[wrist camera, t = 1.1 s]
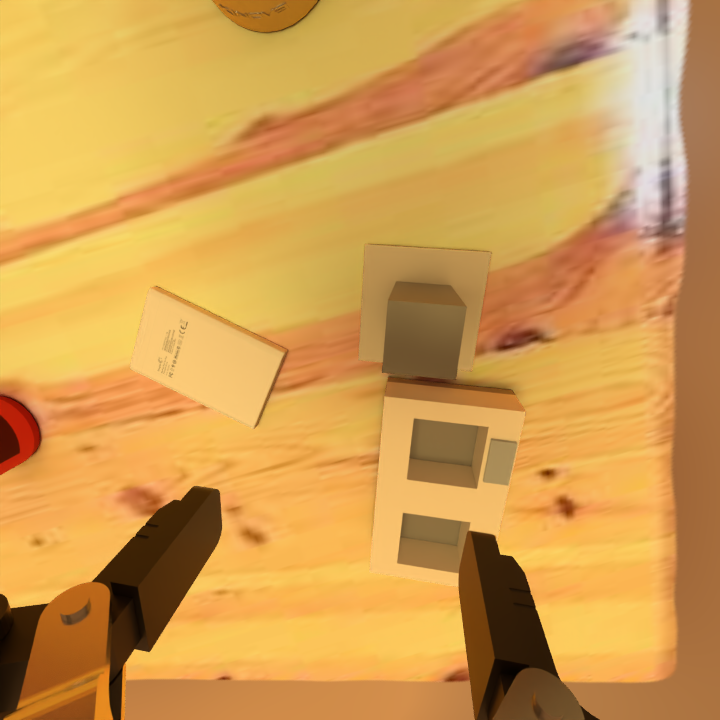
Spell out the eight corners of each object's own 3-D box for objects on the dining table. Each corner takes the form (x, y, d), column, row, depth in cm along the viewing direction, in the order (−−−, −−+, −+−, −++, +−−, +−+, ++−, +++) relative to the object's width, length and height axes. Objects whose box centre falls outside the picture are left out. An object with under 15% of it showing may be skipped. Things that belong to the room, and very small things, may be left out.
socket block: (388, 377, 31) (384, 398, 27) (511, 390, 30) (527, 413, 26) (374, 537, 36) (369, 575, 32) (478, 553, 35) (486, 594, 31)
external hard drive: (259, 422, 35) (140, 364, 35) (290, 348, 32) (160, 284, 32) (252, 431, 33) (127, 370, 33) (284, 353, 30) (147, 287, 30)
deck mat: (366, 244, 28) (365, 244, 27) (489, 251, 27) (491, 252, 26) (359, 357, 31) (358, 360, 30) (470, 368, 30) (471, 371, 29)
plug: (396, 281, 27) (387, 300, 19) (450, 285, 27) (467, 306, 19) (391, 333, 29) (381, 372, 20) (443, 337, 28) (455, 380, 20)
